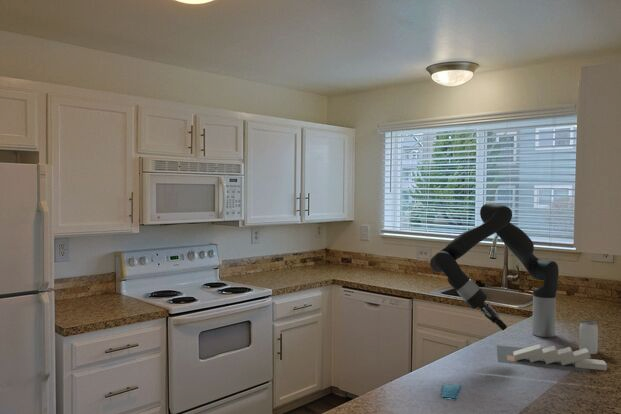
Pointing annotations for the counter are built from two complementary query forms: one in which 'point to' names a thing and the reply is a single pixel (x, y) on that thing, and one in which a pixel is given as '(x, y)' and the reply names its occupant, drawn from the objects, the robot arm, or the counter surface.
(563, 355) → the domino
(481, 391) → the counter surface
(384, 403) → the counter surface
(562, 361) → the domino
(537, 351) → the domino
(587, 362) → the domino
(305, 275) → the counter surface
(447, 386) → the sponge
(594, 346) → the can
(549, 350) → the domino
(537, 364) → the slate mat
